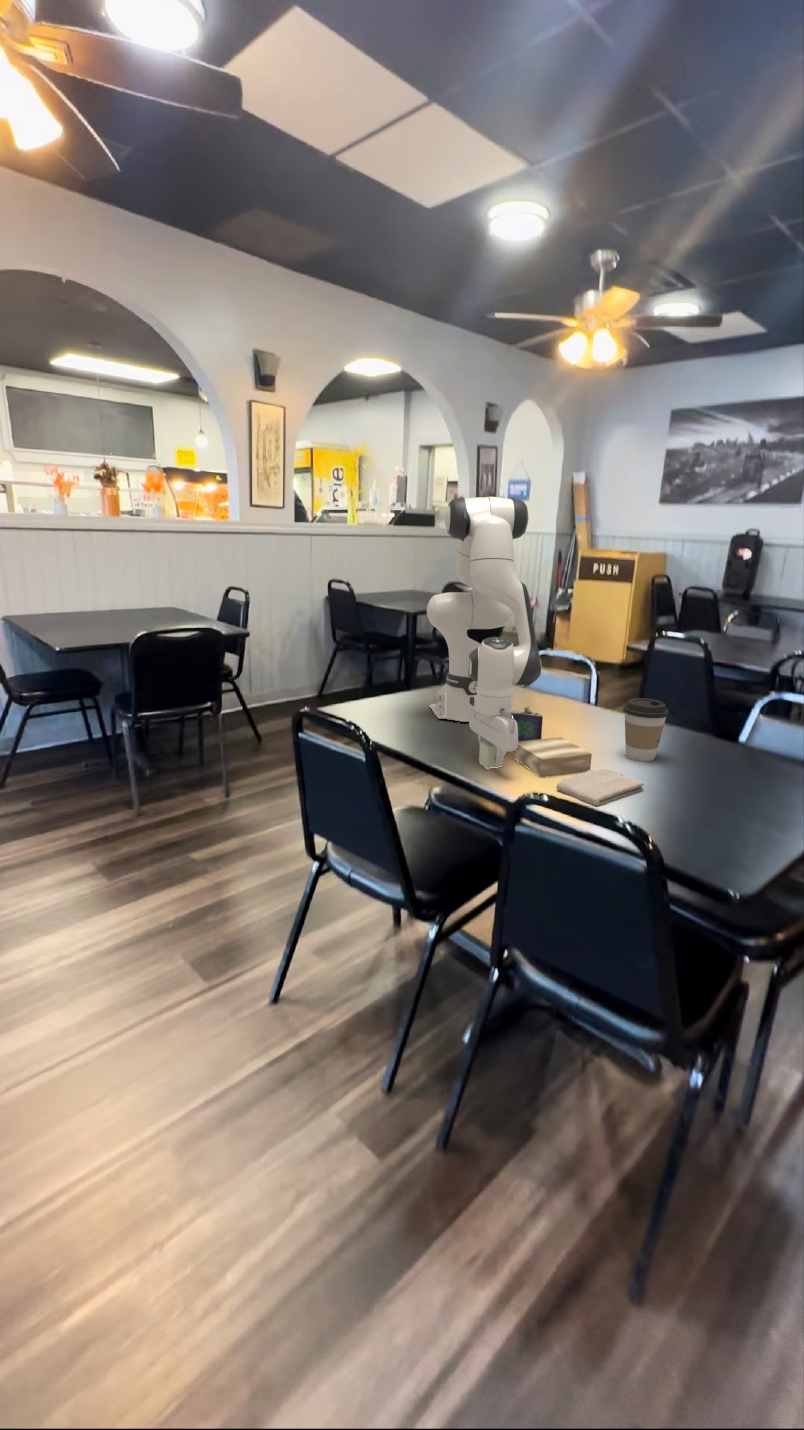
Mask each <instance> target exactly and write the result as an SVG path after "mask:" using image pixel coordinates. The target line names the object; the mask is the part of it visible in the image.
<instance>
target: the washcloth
mask: <svg viewBox="0 0 804 1430" xmlns="http://www.w3.org/2000/svg"><path fill="white" fill-rule="evenodd" d="M643 786H644V782H643V781H641V780H638V779H635V778H631V777H627V776H625V775H622V774H621V773H619V772H617V771H615V770H614V771H613V770H610V769H607V768H601V769H598V770H591V769H590V770H588V771H587V772H581V773H577V774H575V775H572V776H570V777H567V778H563V779H561V780H560V781H559V782H558V783H557V784H556V786H555V787H556V790H558V792H560V791H561V792H560V793H563V794H565V793H566V795H568V796H572V797H574V798H576V799H579V800H580V801H582V800H583V802H585V803H587V802H588V803H587V804H589V803H591V804H590V805H592V804H594V805H593V806H595V805H596V806H595V807H599V806H598V805H600V806H603V805H605V804H607V803H610V802H613V801H617V800H619V799H622V798H624V797H628V796H629V795H633V794H636V793H639V792H642V791H643V790H644V787H643Z"/></svg>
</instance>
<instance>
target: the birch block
mask: <svg viewBox="0 0 804 1430" xmlns="http://www.w3.org/2000/svg"><path fill="white" fill-rule="evenodd" d="M512 753H513V757H514V758H515V759H517V760H518V761H519V762H521V763H522V764H523V765H525V766H527V767H528V768H530V769H531V770H532V771H534V772H535V773H536V774H535V773H534V772H533V773H534V774H535V775H537V774H538V775H539V776H538V775H537V776H538V777H540V778H548V776H549V777H555V776H564V775H571V774H582V773H585V772H587V771H588V770H591V766H592V765H591V764H592V756H593V753H591V752H590V751H588V750H587V749H586V750H585V749H584V748H582V747H580V746H578V745H576V744H574V743H573V742H570V741H569V740H567V739H565V738H563V737H561V736H558V737H550V738H549V737H548V738H541V739H538V740H528V741H518V747H517V749H516V750H515V751H513V752H512ZM519 762H518V763H519ZM522 764H521V765H522ZM523 765H522V766H523ZM525 766H524V767H525ZM528 768H527V769H528ZM531 770H530V771H531ZM532 771H531V772H532ZM546 776H547V777H546Z"/></svg>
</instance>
